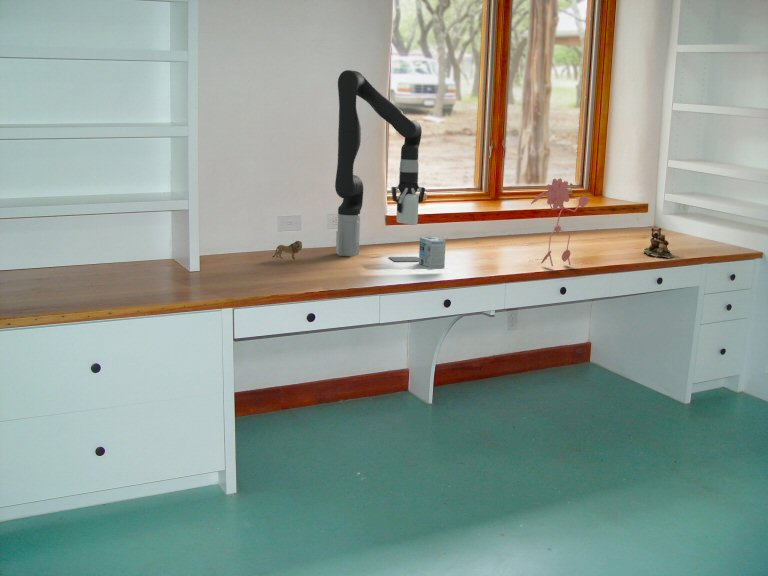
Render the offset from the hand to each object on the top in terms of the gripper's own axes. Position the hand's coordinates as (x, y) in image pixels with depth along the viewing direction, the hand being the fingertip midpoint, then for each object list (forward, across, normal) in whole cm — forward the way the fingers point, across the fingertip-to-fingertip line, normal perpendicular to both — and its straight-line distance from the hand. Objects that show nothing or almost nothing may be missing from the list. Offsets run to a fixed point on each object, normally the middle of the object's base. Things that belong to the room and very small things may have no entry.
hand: (407, 212), depth 365 cm
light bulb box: (+20, +7, -13) cm, 25 cm away
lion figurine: (+20, -48, +6) cm, 52 cm away
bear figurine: (+20, +120, +7) cm, 122 cm away
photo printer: (+5, 0, 0) cm, 5 cm away
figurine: (+20, +60, -11) cm, 64 cm away
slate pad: (+19, 0, 0) cm, 19 cm away
